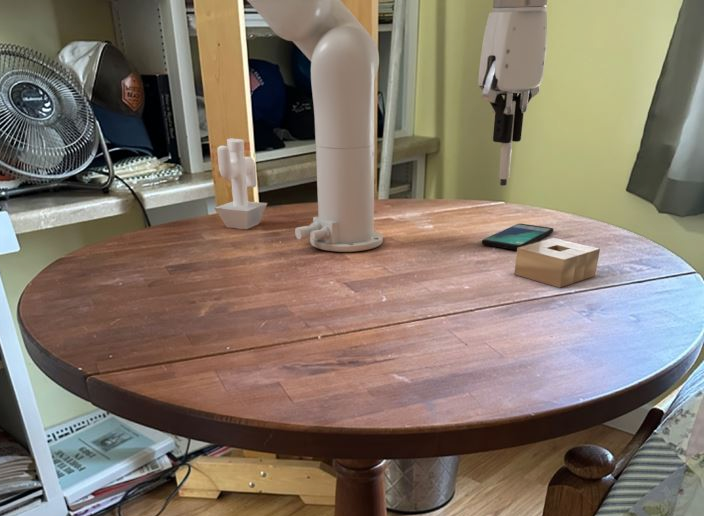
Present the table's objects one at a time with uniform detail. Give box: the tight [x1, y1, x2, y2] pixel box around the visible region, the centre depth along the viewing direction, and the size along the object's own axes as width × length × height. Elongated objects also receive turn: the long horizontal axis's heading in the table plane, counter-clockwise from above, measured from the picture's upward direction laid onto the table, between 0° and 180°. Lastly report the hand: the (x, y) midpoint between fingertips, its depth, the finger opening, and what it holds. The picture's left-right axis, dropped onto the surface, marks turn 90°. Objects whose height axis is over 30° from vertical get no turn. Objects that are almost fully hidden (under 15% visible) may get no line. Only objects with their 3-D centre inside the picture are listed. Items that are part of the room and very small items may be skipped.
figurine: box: [213, 137, 268, 230], centre depth 129 cm, size 7×9×15 cm
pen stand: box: [514, 237, 601, 289], centre depth 104 cm, size 8×8×4 cm
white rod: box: [498, 101, 516, 186], centre depth 110 cm, size 2×2×12 cm
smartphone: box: [481, 223, 555, 251], centre depth 122 cm, size 7×1×15 cm
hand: (506, 140), depth 110 cm, fingers closed on white rod, 1 cm apart
